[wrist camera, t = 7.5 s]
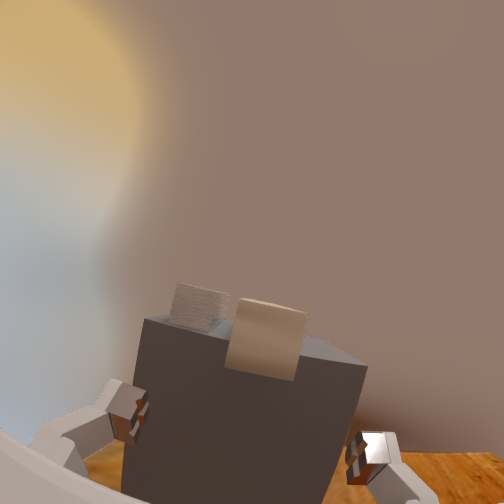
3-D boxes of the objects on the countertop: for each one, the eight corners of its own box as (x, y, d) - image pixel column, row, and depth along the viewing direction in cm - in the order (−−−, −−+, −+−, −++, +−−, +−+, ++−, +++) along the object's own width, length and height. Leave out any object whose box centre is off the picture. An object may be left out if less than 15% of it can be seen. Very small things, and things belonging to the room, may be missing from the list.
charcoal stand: (267, 603, 16) (367, 365, 20) (119, 571, 17) (144, 318, 21) (264, 527, 32) (322, 339, 36) (154, 503, 33) (189, 310, 37)
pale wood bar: (208, 333, 22) (217, 292, 22) (168, 322, 22) (177, 282, 22) (224, 321, 34) (230, 294, 34) (197, 314, 34) (203, 288, 34)
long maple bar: (293, 381, 13) (309, 313, 13) (223, 366, 13) (239, 298, 13) (270, 332, 32) (276, 304, 33) (242, 326, 33) (248, 298, 33)
